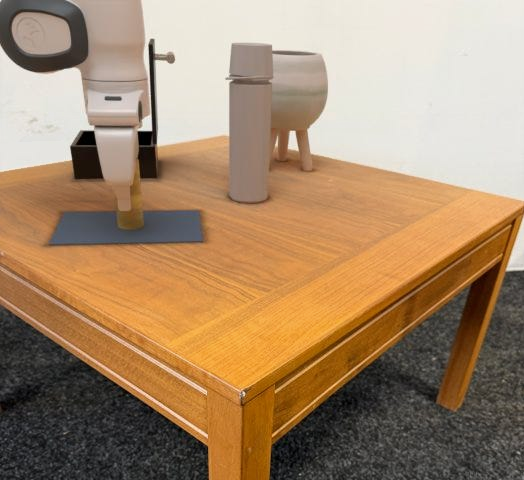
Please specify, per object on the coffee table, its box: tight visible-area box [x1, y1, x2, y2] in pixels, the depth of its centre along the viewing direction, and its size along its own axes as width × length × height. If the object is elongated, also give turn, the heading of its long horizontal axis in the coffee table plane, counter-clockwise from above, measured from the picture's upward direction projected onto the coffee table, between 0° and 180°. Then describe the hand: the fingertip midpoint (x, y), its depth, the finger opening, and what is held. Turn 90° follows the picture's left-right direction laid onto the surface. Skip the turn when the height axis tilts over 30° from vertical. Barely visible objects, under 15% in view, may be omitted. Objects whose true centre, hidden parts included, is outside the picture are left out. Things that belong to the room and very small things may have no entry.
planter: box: [269, 49, 329, 172], centre depth 114 cm, size 16×16×22 cm
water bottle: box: [224, 42, 274, 204], centre depth 95 cm, size 9×8×25 cm
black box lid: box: [147, 38, 176, 145], centre depth 106 cm, size 17×15×5 cm
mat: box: [48, 209, 204, 247], centre depth 86 cm, size 22×14×1 cm, turn 98°
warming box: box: [69, 129, 159, 180], centre depth 111 cm, size 16×15×7 cm
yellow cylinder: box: [113, 158, 144, 230], centre depth 83 cm, size 4×4×10 cm
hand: (127, 199), depth 84 cm, fingers open, 8 cm apart
